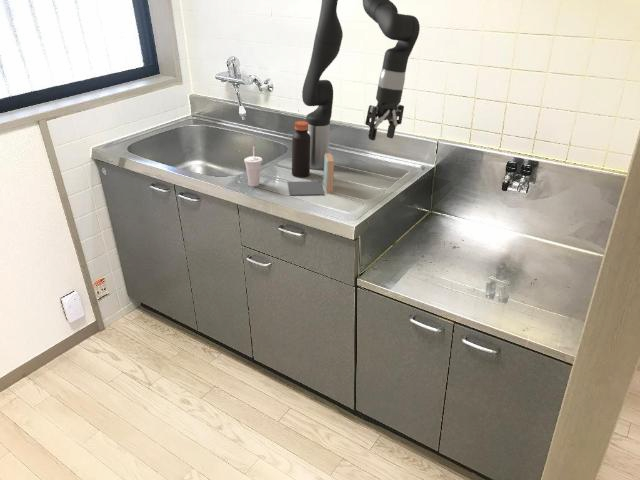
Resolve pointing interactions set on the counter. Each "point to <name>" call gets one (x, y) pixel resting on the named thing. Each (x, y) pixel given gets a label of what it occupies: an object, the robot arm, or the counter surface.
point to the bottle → (301, 150)
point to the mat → (305, 188)
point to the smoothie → (253, 169)
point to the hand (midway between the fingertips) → (380, 138)
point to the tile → (328, 172)
